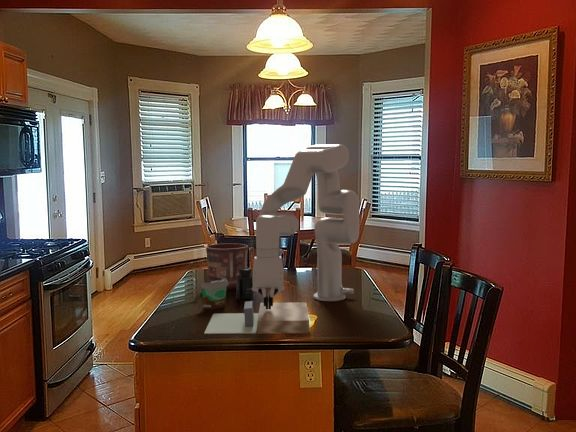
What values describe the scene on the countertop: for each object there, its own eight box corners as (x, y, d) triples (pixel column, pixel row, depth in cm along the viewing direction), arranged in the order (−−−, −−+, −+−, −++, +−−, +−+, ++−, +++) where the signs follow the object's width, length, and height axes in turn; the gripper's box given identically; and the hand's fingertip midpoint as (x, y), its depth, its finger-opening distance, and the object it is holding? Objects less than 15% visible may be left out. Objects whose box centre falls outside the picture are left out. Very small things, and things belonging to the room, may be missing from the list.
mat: (259, 314, 186) (259, 313, 186) (255, 333, 164) (255, 332, 164) (213, 314, 185) (213, 313, 185) (204, 334, 164) (204, 333, 164)
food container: (214, 312, 189) (213, 284, 188) (201, 309, 192) (200, 282, 191) (235, 304, 199) (235, 278, 198) (222, 302, 202) (222, 276, 201)
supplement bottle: (251, 301, 203) (250, 270, 202) (234, 300, 205) (233, 270, 204) (256, 297, 210) (255, 267, 209) (239, 296, 211) (239, 266, 210)
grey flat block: (252, 301, 178) (245, 301, 178) (251, 308, 169) (243, 308, 169) (253, 318, 179) (246, 319, 178) (253, 326, 170) (245, 327, 170)
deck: (306, 313, 186) (306, 302, 185) (309, 333, 164) (309, 320, 163) (260, 314, 186) (260, 302, 185) (257, 333, 164) (257, 320, 163)
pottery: (238, 293, 217) (237, 249, 216) (199, 290, 223) (199, 247, 221) (254, 284, 234) (254, 244, 232) (218, 281, 239) (218, 242, 238)
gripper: (290, 251, 176) (290, 305, 178) (245, 251, 176) (246, 305, 178) (291, 254, 169) (291, 311, 170) (244, 255, 169) (244, 311, 170)
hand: (268, 308), depth 174 cm, fingers closed
